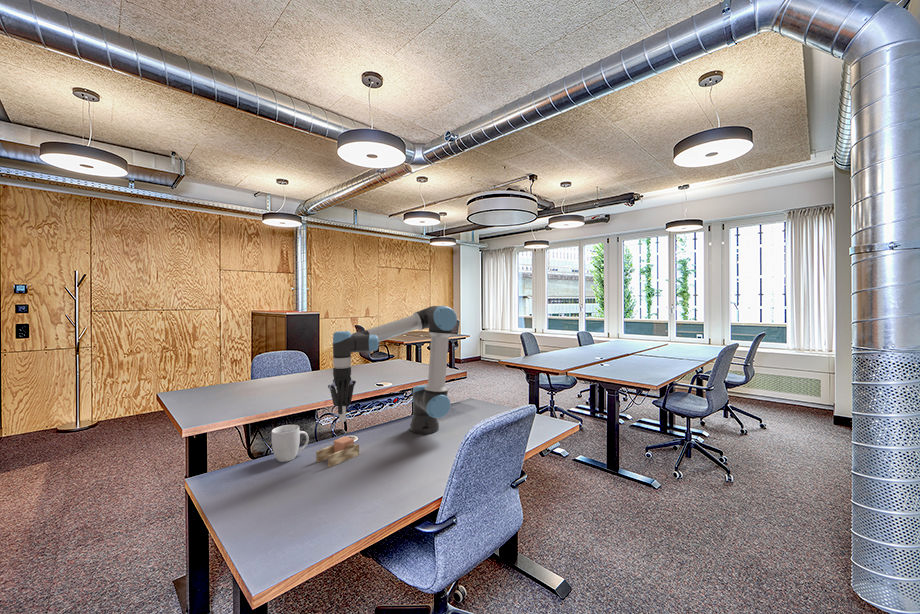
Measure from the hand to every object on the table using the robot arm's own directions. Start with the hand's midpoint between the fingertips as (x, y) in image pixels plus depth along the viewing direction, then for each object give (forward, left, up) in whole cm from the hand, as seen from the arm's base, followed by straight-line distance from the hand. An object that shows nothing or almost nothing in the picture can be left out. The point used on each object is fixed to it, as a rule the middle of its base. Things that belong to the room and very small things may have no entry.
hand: (342, 420), depth 163 cm
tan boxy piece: (+3, 0, -15) cm, 16 cm away
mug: (+15, -18, -16) cm, 28 cm away
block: (0, 0, -15) cm, 15 cm away
